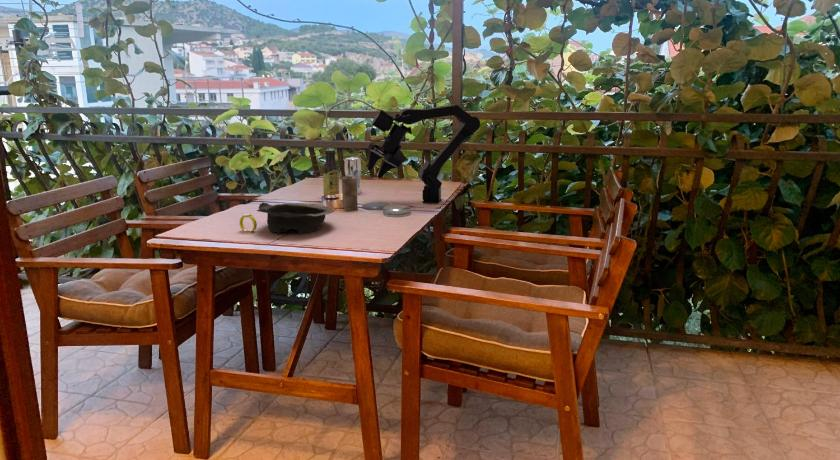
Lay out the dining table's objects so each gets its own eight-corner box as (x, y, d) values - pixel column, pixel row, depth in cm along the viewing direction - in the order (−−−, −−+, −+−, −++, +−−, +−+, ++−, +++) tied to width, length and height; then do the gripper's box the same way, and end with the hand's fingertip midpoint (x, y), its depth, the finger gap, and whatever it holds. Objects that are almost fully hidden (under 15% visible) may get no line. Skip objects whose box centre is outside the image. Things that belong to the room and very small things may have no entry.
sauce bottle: (331, 200, 242) (329, 151, 237) (320, 198, 246) (317, 150, 241) (343, 197, 247) (340, 149, 242) (332, 195, 251) (329, 148, 246)
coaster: (394, 204, 234) (394, 203, 234) (384, 210, 224) (384, 209, 224) (368, 202, 237) (368, 201, 237) (357, 209, 227) (357, 207, 227)
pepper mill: (354, 207, 230) (353, 173, 227) (357, 209, 226) (356, 175, 222) (343, 208, 229) (341, 174, 225) (345, 210, 225) (344, 176, 221)
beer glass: (361, 195, 252) (359, 159, 248) (344, 195, 252) (343, 159, 248) (363, 191, 258) (361, 157, 255) (347, 191, 259) (345, 157, 255)
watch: (239, 232, 198) (236, 215, 197) (244, 230, 201) (242, 213, 199) (253, 233, 196) (251, 215, 194) (259, 230, 198) (256, 213, 197)
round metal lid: (414, 212, 223) (414, 205, 222) (405, 218, 214) (405, 211, 213) (388, 210, 226) (388, 204, 225) (379, 216, 217) (378, 210, 216)
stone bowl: (247, 237, 191) (245, 208, 189) (276, 223, 215) (275, 197, 213) (323, 238, 187) (321, 208, 185) (343, 223, 212) (342, 197, 210)
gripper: (421, 154, 226) (400, 190, 228) (399, 140, 241) (379, 174, 242) (399, 142, 219) (377, 178, 221) (378, 128, 234) (358, 163, 236)
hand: (373, 173), depth 230 cm, fingers open, 9 cm apart
